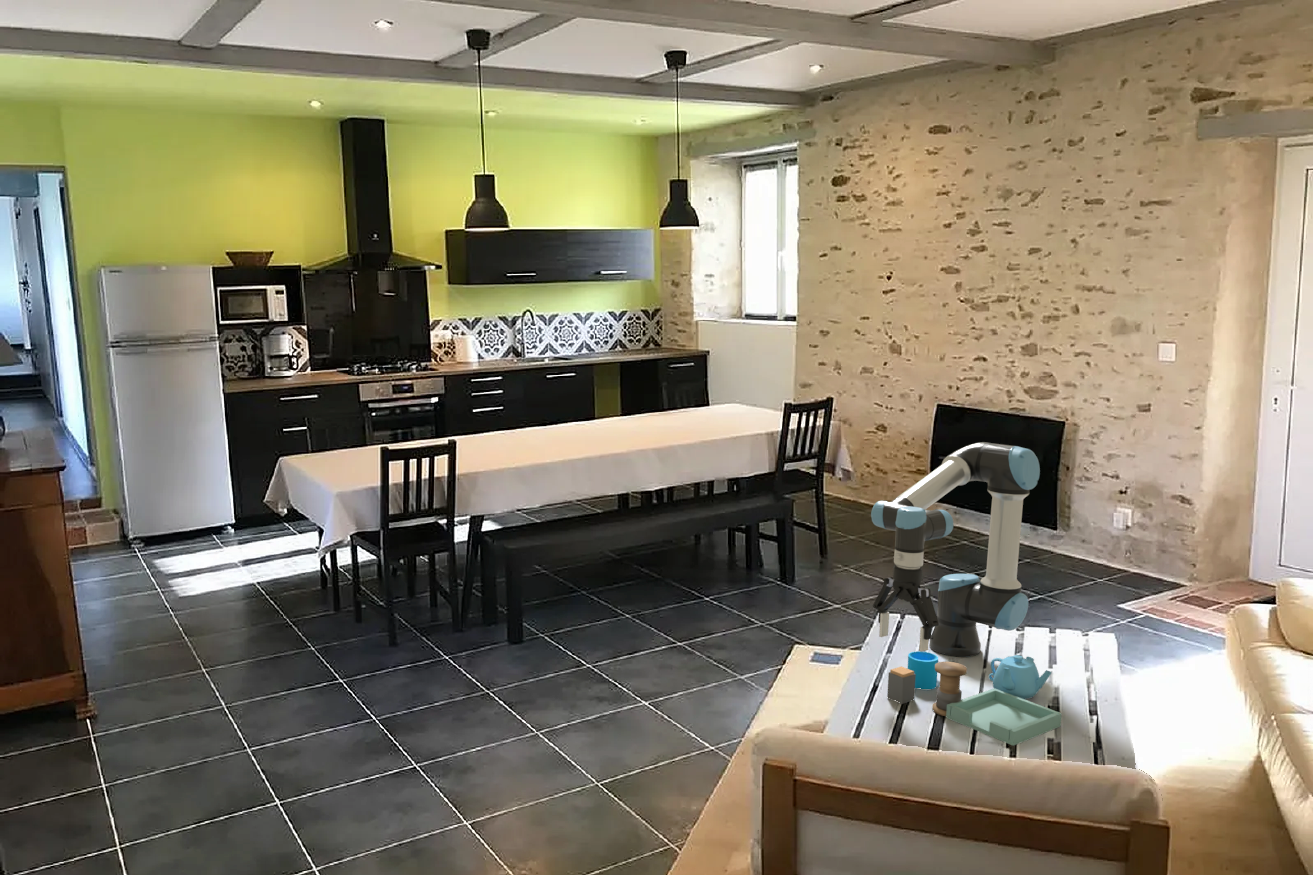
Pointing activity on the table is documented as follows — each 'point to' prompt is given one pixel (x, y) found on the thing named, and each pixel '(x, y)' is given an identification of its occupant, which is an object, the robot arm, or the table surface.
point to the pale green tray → (1004, 716)
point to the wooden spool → (948, 685)
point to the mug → (923, 669)
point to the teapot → (1017, 676)
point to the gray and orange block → (901, 684)
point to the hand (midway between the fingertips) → (903, 643)
